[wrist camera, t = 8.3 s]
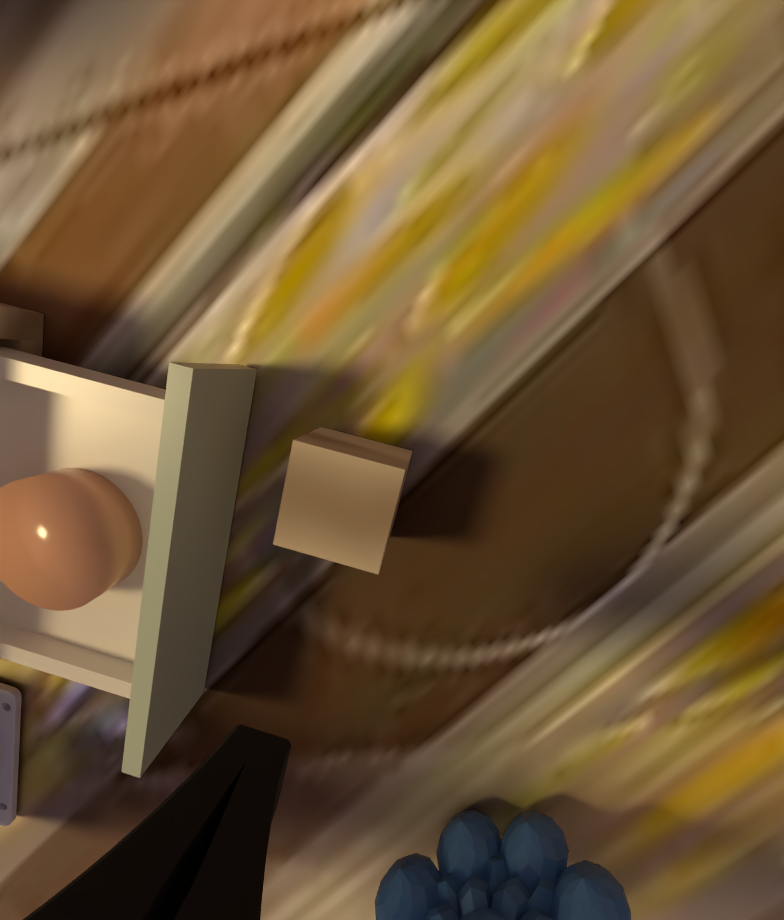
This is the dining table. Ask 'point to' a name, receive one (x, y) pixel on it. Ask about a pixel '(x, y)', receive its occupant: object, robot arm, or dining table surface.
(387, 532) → the block
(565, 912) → the grapes
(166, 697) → the pull-out drawer
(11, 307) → the housing
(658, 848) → the dining table surface
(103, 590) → the rounded lump
